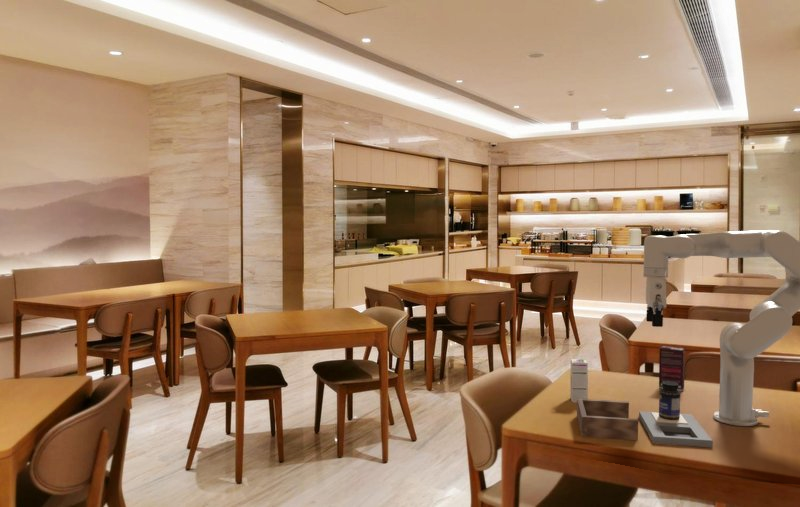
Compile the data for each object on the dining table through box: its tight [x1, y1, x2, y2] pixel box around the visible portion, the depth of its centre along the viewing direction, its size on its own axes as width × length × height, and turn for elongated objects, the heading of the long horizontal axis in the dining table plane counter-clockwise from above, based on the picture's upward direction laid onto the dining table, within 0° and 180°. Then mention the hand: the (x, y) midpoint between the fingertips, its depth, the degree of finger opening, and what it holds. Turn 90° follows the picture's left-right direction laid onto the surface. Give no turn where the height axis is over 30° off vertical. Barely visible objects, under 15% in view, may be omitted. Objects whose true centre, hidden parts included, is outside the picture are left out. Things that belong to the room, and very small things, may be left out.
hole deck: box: [638, 410, 714, 448], centre depth 190 cm, size 16×24×2 cm, turn 168°
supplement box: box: [658, 345, 686, 392], centre depth 236 cm, size 9×5×16 cm, turn 58°
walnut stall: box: [576, 398, 639, 441], centre depth 193 cm, size 16×19×6 cm
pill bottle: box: [658, 381, 681, 420], centre depth 196 cm, size 6×6×11 cm
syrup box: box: [570, 358, 589, 404], centre depth 221 cm, size 6×6×14 cm
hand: (654, 323), depth 205 cm, fingers open, 9 cm apart
